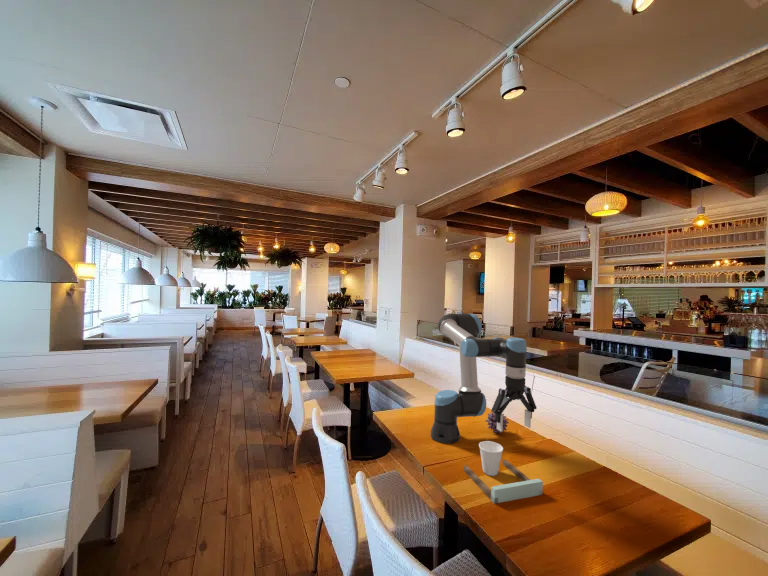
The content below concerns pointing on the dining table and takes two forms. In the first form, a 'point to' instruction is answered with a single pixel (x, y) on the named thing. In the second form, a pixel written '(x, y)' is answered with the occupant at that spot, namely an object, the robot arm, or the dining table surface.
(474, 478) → the channel
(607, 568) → the dining table surface
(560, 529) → the dining table surface
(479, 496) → the dining table surface
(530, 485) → the block
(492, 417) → the flower
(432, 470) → the dining table surface
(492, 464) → the cup
